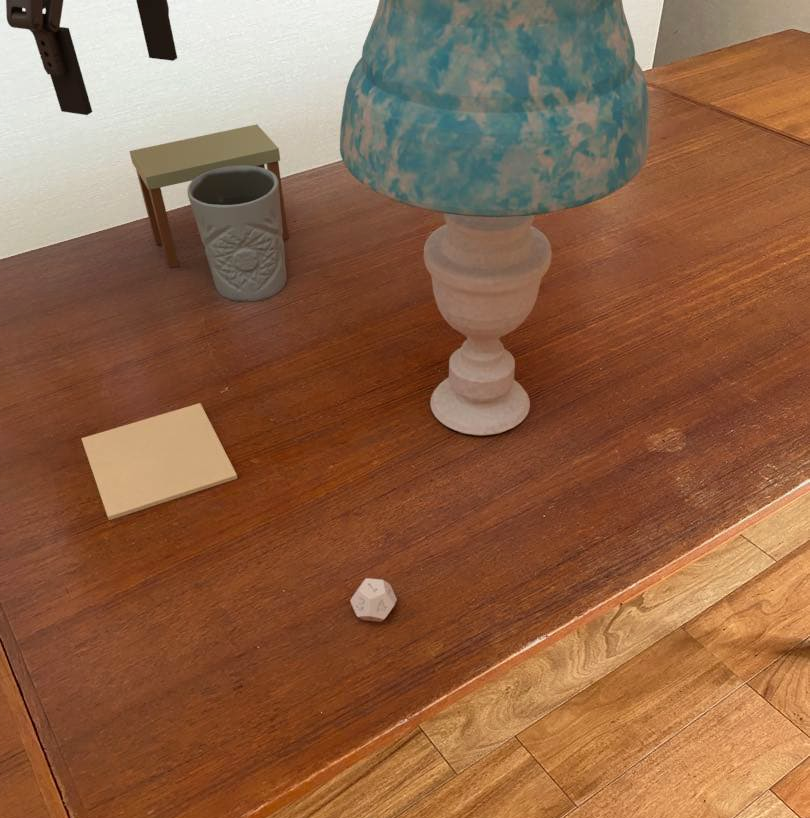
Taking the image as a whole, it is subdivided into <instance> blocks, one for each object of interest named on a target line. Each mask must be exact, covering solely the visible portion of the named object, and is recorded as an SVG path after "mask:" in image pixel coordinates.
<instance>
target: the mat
mask: <svg viewBox="0 0 810 818" xmlns="http://www.w3.org/2000/svg"><path fill="white" fill-rule="evenodd" d="M80 439H81V442H82V445H83V448H84V451H85V454H86V457H87V460H88V463H89V466H90V469H91V472H92V474H93V477H94V481H95V484H96V488H97V489H98V493H99V495H100V498H101V502H102V504H103V508H104V511H105V513H106V516H107V519H108V521H111V520H115V519H118V518H121V517H125V516H128V515H130V514H134V513H136V512H139V511H142V510H145V509H149V508H152V507H155V506H158V505H161V504H164V503H168V502H171V501H173V500H176V499H180V498H183V497H186V496H189V495H191V494H194V493H198V492H201V491H204V490H207V489H211V488H214V487H216V486H219V485H223V484H226V483H228V482H232V481H234V480H237V479H238V474H237V472H236V470H235V468H234V466H233V464H232V463H231V460H230V458H229V456H228V455H227V453H226V451H225V448H224V446H223V445H222V443H221V440H220V439H219V437H218V434H217V433H216V431H215V429H214V427H213V424H212V423H211V421H210V419H209V416H208V415H207V412H206V411H205V409H204V406H203V405H202V403H201V402H198V403H195V404H192V405H189V406H185V407H182V408H179V409H174V410H173V411H168V412H165V413H162V414H158V415H154V416H152V417H148V418H144V419H141V420H138V421H134V422H132V423H128V424H125V425H121V426H118V427H115V428H111V429H107V430H104V431H102V432H98V433H93V434H91V435H87V436H84V437H81V438H80Z"/></svg>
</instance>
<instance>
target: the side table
mask: <svg viewBox="0 0 810 818" xmlns="http://www.w3.org/2000/svg"><path fill="white" fill-rule="evenodd" d="M129 155H130V159H131V163H132V165H133V167H134V168H135V171H136V175H137V179H138V183H139V186H140V191H141V194H142V198H143V202H144V206H145V211H146V213H147V217H148V222H149V225H150V230H151V234H152V237H153V242H154V243H155V245H156V246H160V245H162V249H163V252H164V256H165V260H166V264H167V266H168V268H169V269H173V268H177V267H180V264H179V259H178V256H177V251H176V247H175V242H174V238H173V235H172V231H171V230H172V229H171V226H170V222H169V217H168V213H167V209H166V205H165V200H164V198H163V193H162V189H161V188H164V187H168V186H169V187H170V186H173V185H178V184H182V183H183V184H184V183H187V182H192V180H194V179H195V178H196V177H198V176H200V175H201V174H203V173H206V172H208V171H211V170H214V169H218V168H223V167H228V166H256V167H261V168H264V169H267V170H269V171H271V172H273V173H274V174H275V175H276V177H277V178H278V184H279V194H280V207H281V217H282V228H283V236H282V239H283V241H285V240H288V239H289V230H288V224H287V216H286V215H287V214H286V209H285V201H284V193H283V186H282V185H283V184H282V179H281V172H280V171H281V170H280V163H279V162H280V161H281V154H280V148H279V147H278V146H277V144H276V143H275V142H273V140H272V139H271V138H270V137H269V136H268V134H267V133H266V132H265V131H264V130H263V129H262V128H261V127H260V126H259V125H258V124H252V125H251V124H250V125H247V126H242V127H239V128H232V129H228V130H227V129H226V130H224V131H219V132H214V133H208V134H204V135H199V136H195V137H189V138H184V139H180V140H176V141H170V142H166V143H160V144H156V145H151V146H146V147H143V148H138V149H133V150H129ZM265 165H266V166H265ZM159 244H160V245H159Z"/></svg>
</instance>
